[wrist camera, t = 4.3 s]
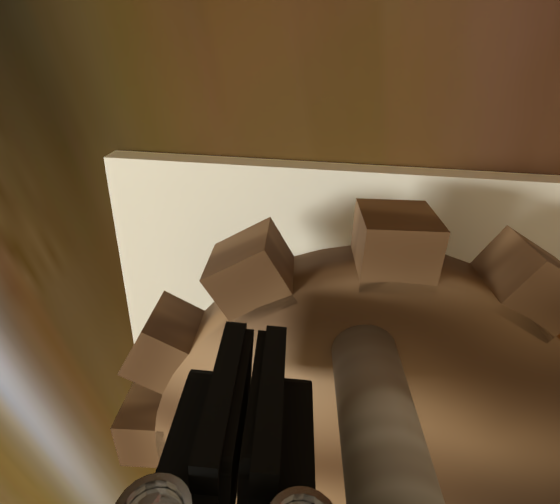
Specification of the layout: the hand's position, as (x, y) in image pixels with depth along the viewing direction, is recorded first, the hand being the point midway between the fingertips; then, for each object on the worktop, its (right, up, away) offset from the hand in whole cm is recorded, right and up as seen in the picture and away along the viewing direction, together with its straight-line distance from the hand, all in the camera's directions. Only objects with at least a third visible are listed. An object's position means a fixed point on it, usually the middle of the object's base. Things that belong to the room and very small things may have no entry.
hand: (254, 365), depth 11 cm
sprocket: (+4, -4, +6) cm, 8 cm away
